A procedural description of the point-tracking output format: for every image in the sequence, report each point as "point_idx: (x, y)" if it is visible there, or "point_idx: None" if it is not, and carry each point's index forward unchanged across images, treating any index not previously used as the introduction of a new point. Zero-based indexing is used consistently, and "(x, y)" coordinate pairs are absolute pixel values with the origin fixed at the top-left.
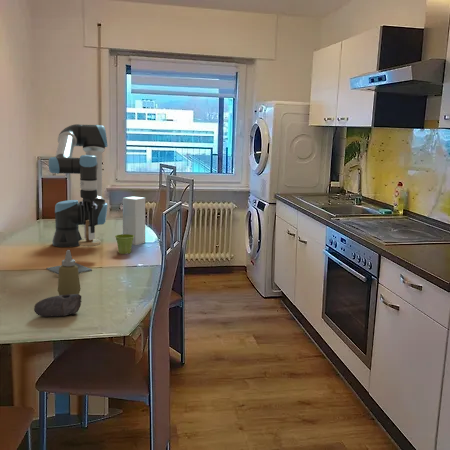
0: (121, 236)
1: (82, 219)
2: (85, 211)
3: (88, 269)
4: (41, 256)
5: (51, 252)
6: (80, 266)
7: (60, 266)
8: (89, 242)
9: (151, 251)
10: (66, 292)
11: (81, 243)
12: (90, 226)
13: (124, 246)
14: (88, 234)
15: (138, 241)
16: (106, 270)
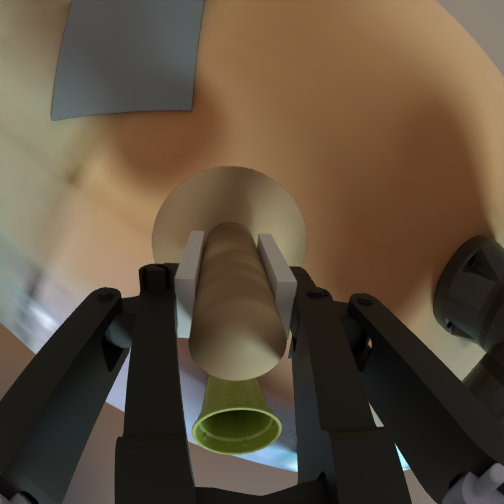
0: (273, 429)
1: (361, 314)
2: (318, 425)
3: (57, 106)
4: (416, 96)
5: (440, 168)
6: (117, 96)
7: (183, 27)
8: (200, 228)
9: (191, 432)
10: None
11: (215, 168)
12: (175, 290)
13: (209, 392)
14: (211, 248)
15: None
16: (28, 173)
